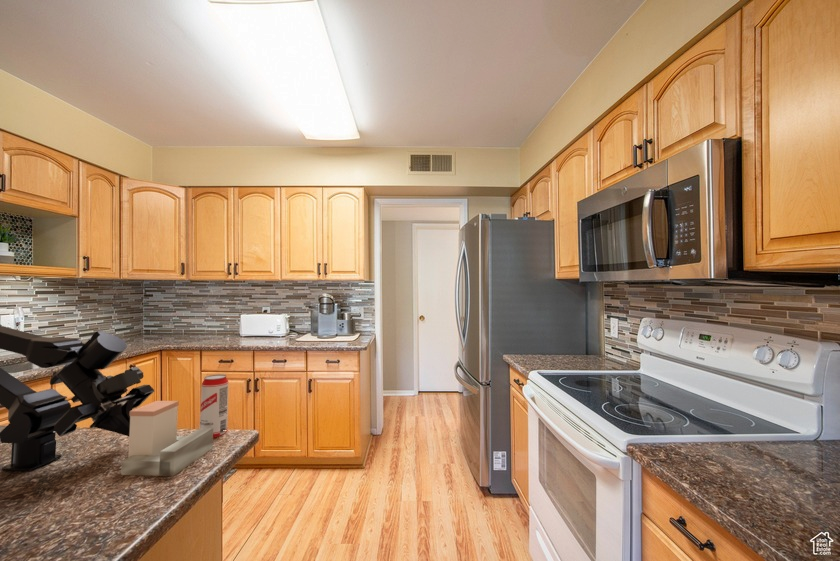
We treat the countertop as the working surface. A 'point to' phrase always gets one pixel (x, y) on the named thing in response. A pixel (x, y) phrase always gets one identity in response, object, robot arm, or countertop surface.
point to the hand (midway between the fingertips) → (134, 435)
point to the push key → (153, 428)
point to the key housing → (171, 455)
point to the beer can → (214, 404)
